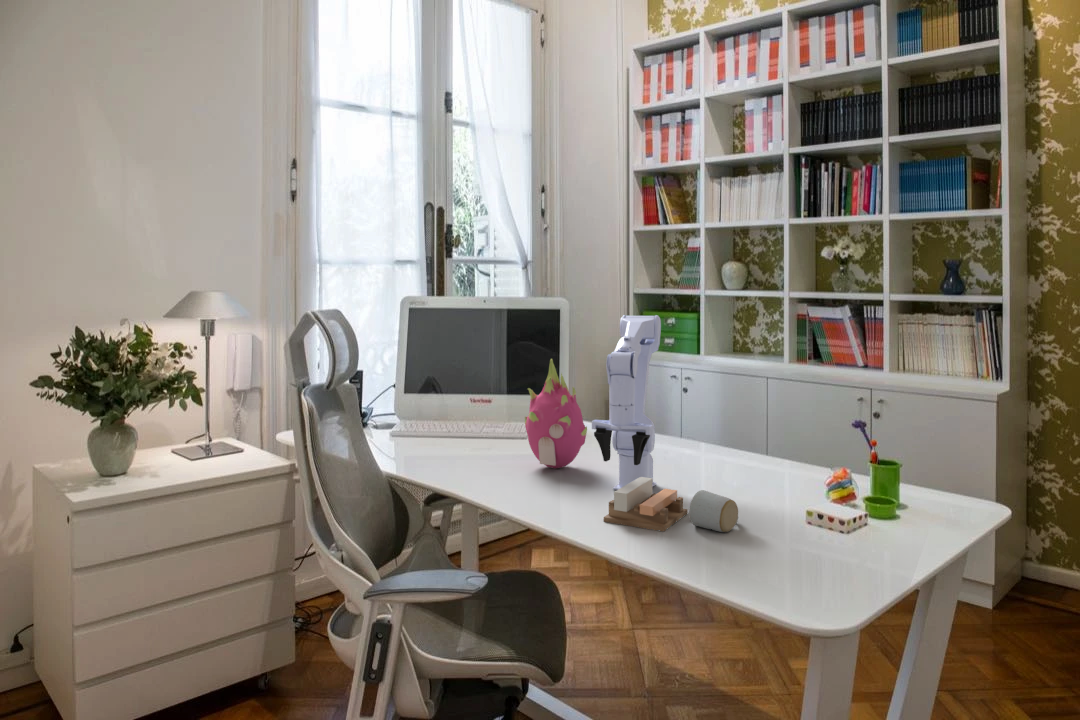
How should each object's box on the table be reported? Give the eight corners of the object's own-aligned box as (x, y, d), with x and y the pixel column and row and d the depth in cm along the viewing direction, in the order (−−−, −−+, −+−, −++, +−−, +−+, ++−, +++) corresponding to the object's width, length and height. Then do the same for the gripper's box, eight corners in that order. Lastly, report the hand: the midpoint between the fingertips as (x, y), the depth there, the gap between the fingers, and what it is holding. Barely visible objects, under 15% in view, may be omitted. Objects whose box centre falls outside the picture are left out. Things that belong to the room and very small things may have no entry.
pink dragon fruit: (516, 471, 220) (514, 361, 216) (532, 460, 232) (531, 356, 229) (579, 476, 214) (579, 363, 210) (593, 464, 227) (592, 357, 223)
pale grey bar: (640, 493, 187) (640, 476, 187) (652, 495, 186) (652, 478, 185) (614, 509, 175) (614, 491, 175) (626, 511, 174) (626, 493, 173)
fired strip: (664, 497, 184) (664, 488, 184) (677, 498, 183) (677, 490, 183) (639, 513, 172) (639, 504, 172) (652, 516, 171) (652, 506, 171)
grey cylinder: (722, 537, 166) (723, 500, 165) (687, 529, 172) (688, 493, 171) (747, 525, 174) (748, 490, 173) (714, 517, 179) (714, 483, 179)
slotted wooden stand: (630, 504, 189) (630, 487, 189) (687, 513, 182) (687, 496, 181) (603, 521, 177) (603, 503, 177) (663, 531, 170) (663, 513, 170)
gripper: (585, 404, 186) (585, 462, 187) (644, 409, 178) (644, 469, 180) (599, 399, 192) (599, 456, 193) (656, 404, 184) (656, 463, 186)
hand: (621, 462), depth 187 cm, fingers open, 7 cm apart
